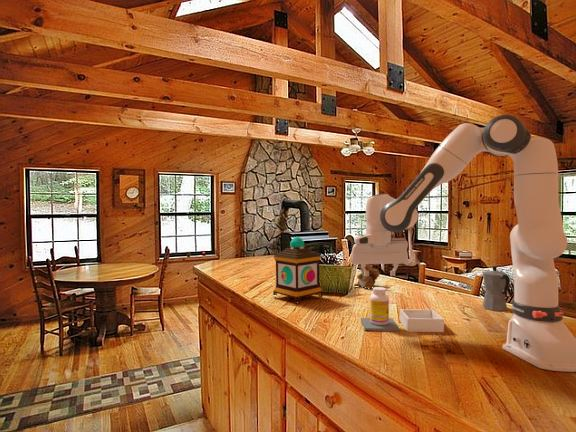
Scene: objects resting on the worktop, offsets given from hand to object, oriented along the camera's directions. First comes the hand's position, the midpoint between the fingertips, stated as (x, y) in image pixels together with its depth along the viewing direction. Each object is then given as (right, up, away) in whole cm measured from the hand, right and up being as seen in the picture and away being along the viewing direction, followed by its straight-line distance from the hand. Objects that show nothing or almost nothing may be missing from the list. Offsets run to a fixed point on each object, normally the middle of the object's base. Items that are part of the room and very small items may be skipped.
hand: (379, 275), depth 134 cm
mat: (0, -19, 0) cm, 19 cm away
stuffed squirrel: (+10, -17, +67) cm, 70 cm away
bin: (+15, -18, -1) cm, 24 cm away
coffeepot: (+55, -18, +20) cm, 61 cm away
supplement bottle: (0, -18, +1) cm, 18 cm away
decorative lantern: (-29, -18, +44) cm, 56 cm away
